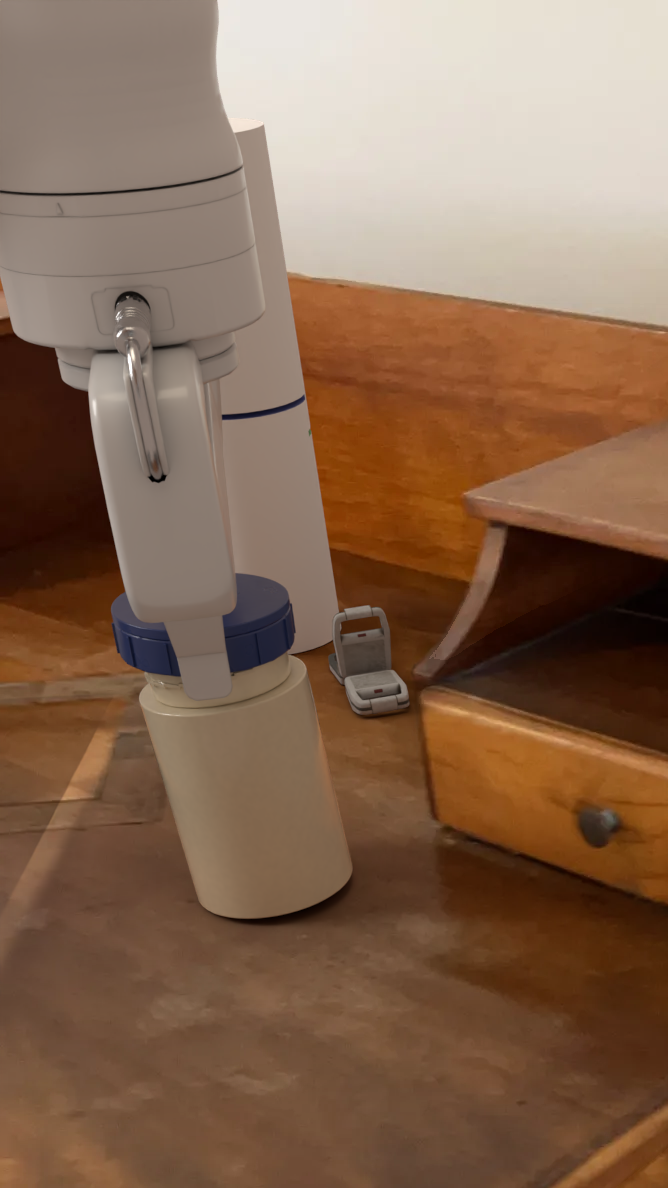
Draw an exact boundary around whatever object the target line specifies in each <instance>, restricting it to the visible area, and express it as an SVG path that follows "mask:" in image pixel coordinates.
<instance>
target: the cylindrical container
mask: <svg viewBox="0 0 668 1188" xmlns="http://www.w3.org/2000/svg"><path fill="white" fill-rule="evenodd" d="M228 120H229V123H230V125H231V127H232V129H233V132H234V134H235V136H236V139H237V142H238V144H239V147H240V151H241V155H242V160H243V167H244V173H245V179H246V186H247V192H248V198H249V204H250V211H251V217H252V223H253V230H254V236H255V243H256V250H257V256H258V262H259V268H260V275H261V281H262V287H263V293H264V300H265V306H266V308H265V313H264V314H263V316H262V317H261V318H260V319H259V320H258V321H256V322H255V323H253V324H251V325H249V326H247V327H245V328H242V329H240V330H237V331H234V334H235V341H234V342H235V343H236V345H237V351H238V357H239V365H238V366H237V368H236V369H235V370H234V371H233V372H232V373H231V374H229V375H227V376H225V377H222V378H220V394H221V410H222V432H223V458H224V468H225V477H226V487H227V497H228V506H229V516H230V526H231V536H232V545H233V555H234V565H235V573H242V574H250V575H256V576H260V577H264V578H268V579H271V580H273V581H276V582H278V583H279V584H281V585H282V586H284V587H285V588H286V590H287V591H288V594H289V599H290V603H292V608H293V616H294V623H295V630H296V633H294V635H295V639H294V643H293V645H292V647H291V649H290V650H288V651H287V652H288V655H292V654H299V653H303V652H307V651H310V650H315V649H316V648H319V647H322V646H325V645H326V644H328V643H330V642H333V637H332V621H333V617H334V616H335V614H337V613H339V612H340V609H339V603H338V597H337V591H336V583H335V578H334V572H333V570H334V569H333V563H332V557H331V550H330V544H329V538H328V531H327V524H326V519H325V512H324V511H325V510H324V506H323V499H322V493H321V486H320V485H321V484H320V479H319V473H318V465H317V460H316V453H315V447H314V439H313V434H312V433H313V432H312V430H311V421H310V420H311V419H310V415H309V409H308V408H309V406H308V401H307V395H306V388H305V381H304V375H303V368H302V363H301V362H302V361H301V356H300V349H299V343H298V336H297V330H296V323H295V317H294V310H293V304H292V298H291V290H290V283H289V278H288V271H287V264H286V258H285V252H284V246H283V238H282V232H281V226H280V220H279V212H278V207H277V200H276V199H277V198H276V194H275V188H274V187H275V186H274V179H273V174H272V167H271V161H270V154H269V148H268V142H267V141H268V140H267V134H266V129H265V123H264V121H262V120H259V119H254V118H246V117H244V118H243V117H228ZM341 631H342V622H341V623H340V632H341Z"/></svg>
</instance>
